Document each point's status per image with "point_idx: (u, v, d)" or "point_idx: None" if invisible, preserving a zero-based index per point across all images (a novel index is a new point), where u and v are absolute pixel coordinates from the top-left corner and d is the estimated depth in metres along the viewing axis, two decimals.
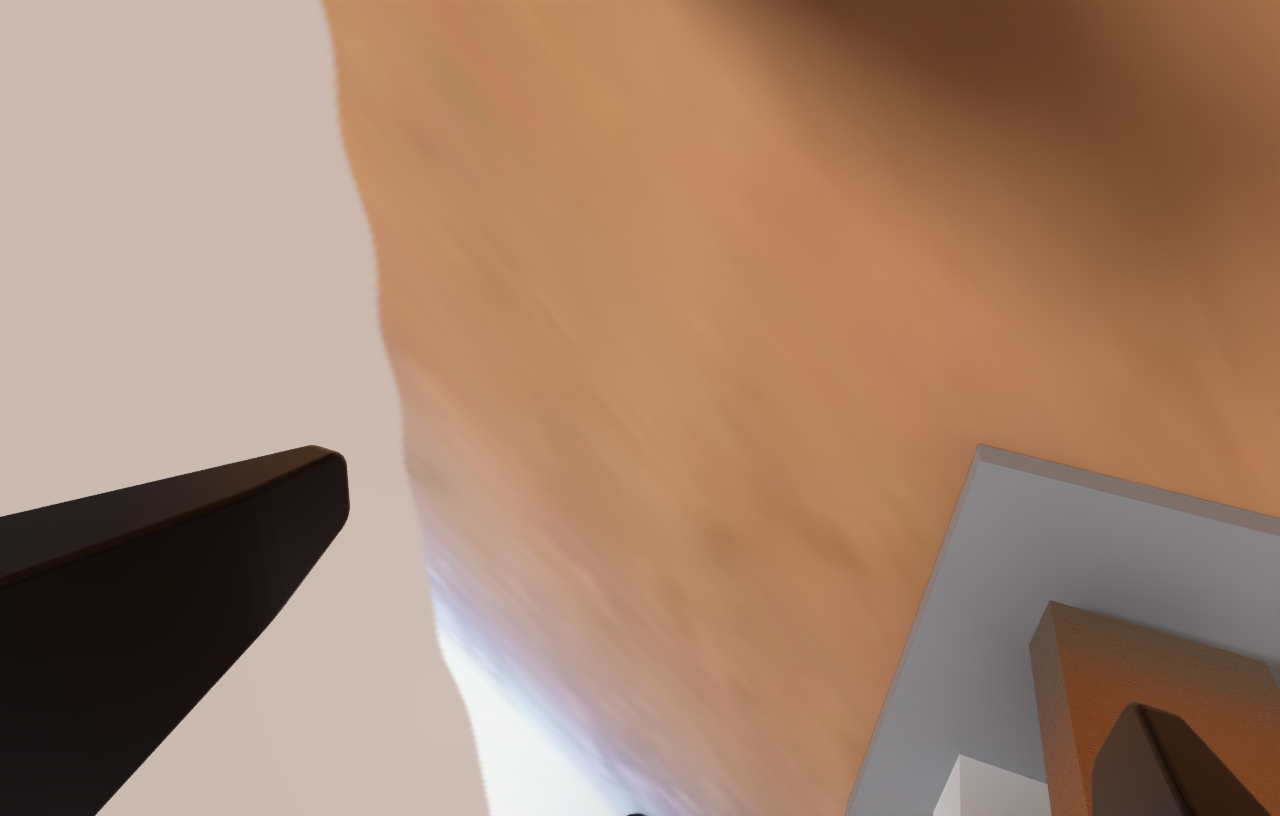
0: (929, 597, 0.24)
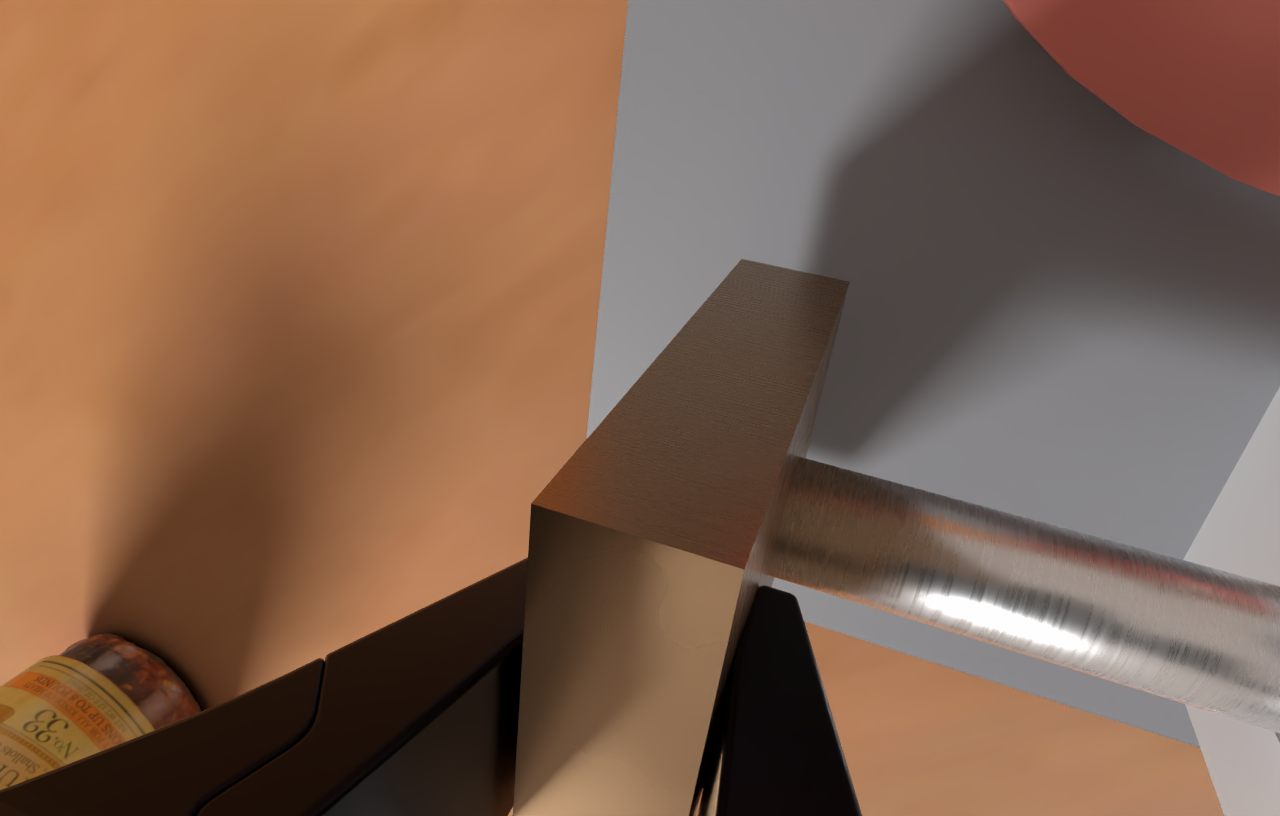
0: None
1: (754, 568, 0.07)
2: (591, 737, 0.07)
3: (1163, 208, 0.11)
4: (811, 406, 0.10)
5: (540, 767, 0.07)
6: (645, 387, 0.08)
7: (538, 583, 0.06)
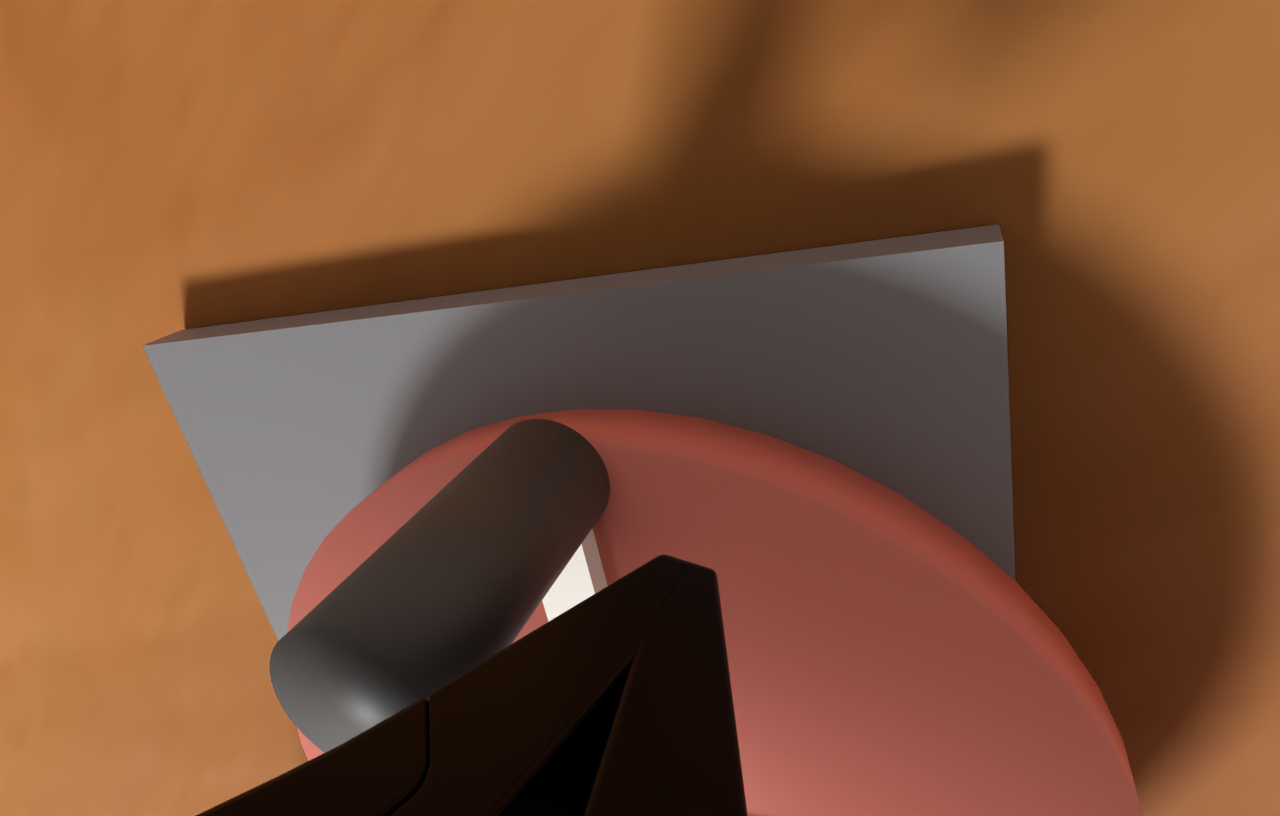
0: None
1: None
2: None
3: None
4: None
5: None
6: None
7: None
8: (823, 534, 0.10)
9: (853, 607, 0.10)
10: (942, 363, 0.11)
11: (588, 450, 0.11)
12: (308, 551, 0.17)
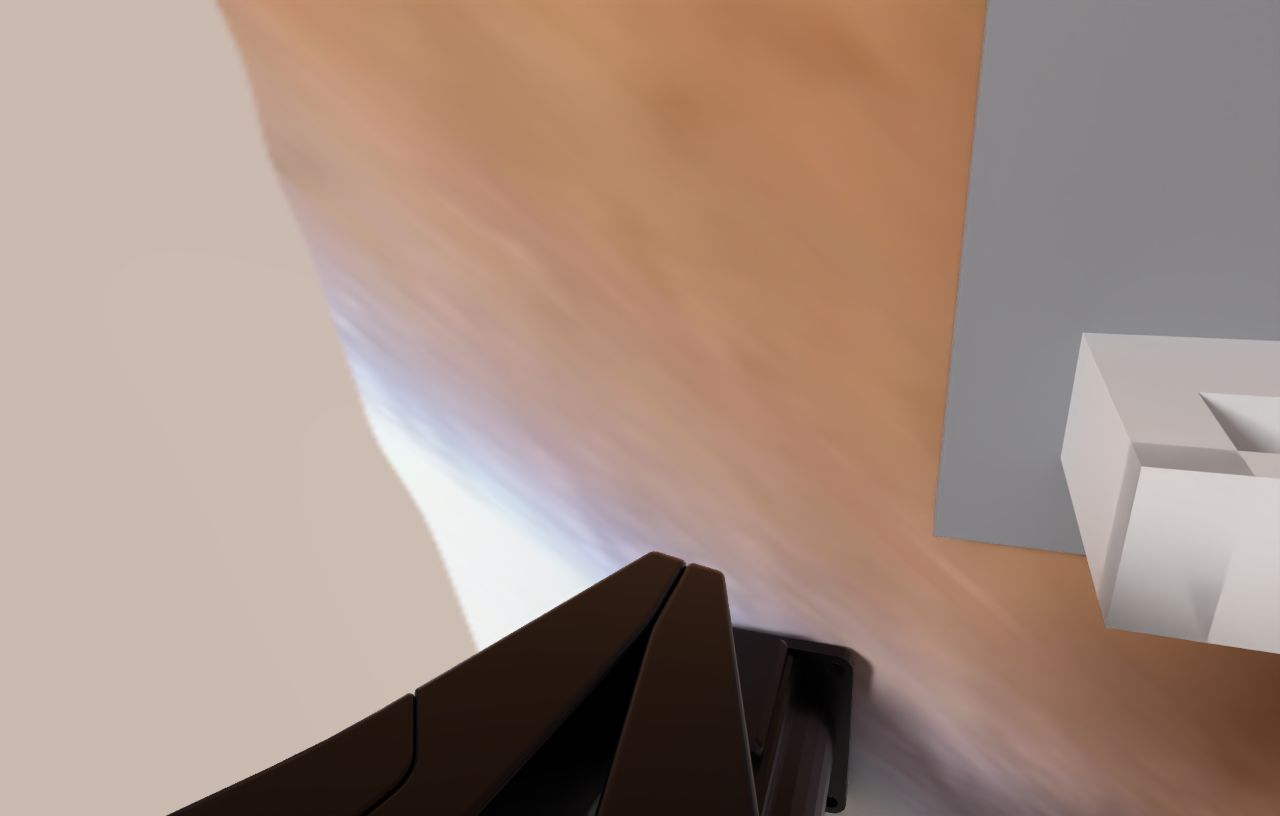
0: (984, 48, 0.15)
1: None
2: None
3: None
4: None
5: None
6: None
7: None
8: None
9: None
10: None
11: None
12: None
